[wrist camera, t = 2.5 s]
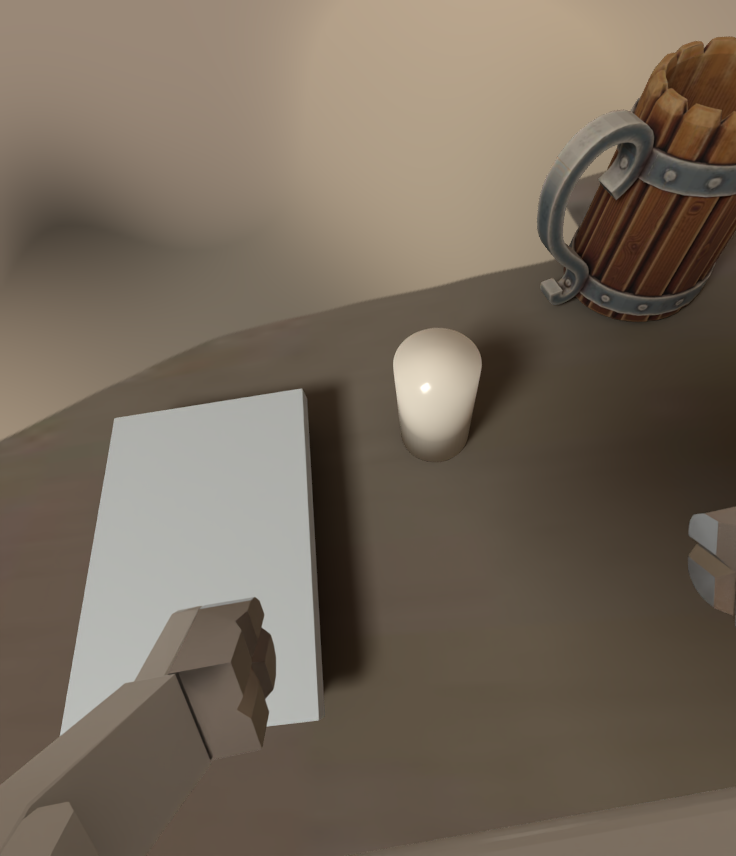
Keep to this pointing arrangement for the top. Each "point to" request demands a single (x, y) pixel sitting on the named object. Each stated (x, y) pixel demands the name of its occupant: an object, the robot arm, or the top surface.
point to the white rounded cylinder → (436, 392)
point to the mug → (650, 191)
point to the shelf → (204, 543)
